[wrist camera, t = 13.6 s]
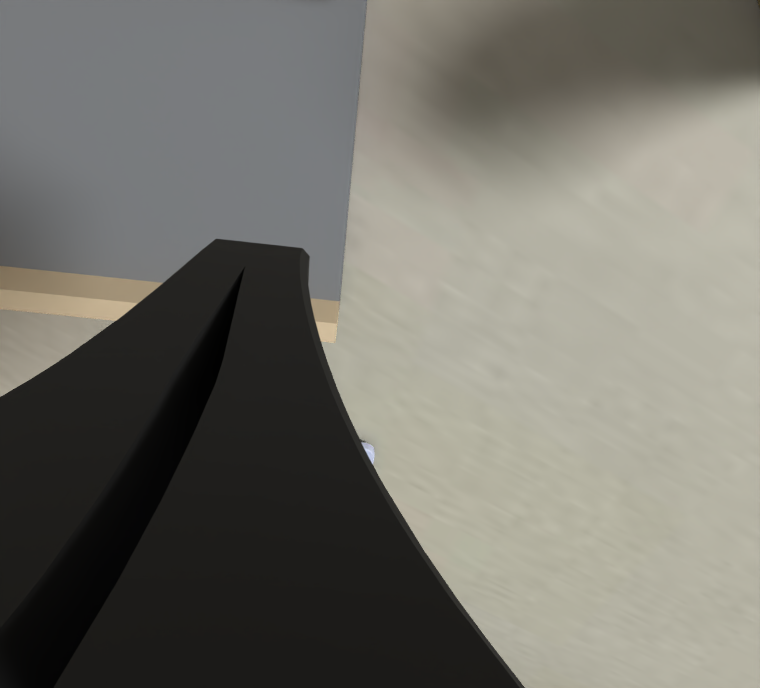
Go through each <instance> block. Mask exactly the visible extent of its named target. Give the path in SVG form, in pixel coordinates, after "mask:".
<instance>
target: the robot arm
mask: <svg viewBox="0 0 760 688" xmlns="http://www.w3.org/2000/svg"><path fill="white" fill-rule="evenodd" d="M309 262H310V256H309V255H308V254H307V253H306V251H305V250H304V249H303V248H298V247H289V246H280V245H270V244H261V243H252V242H243V241H234V240H225V239H215V240H214V241H212V242H211V243H210V244H209V245H207V246H206V247H205V248H204V249H202V250H201V251H200V252H199V253H198V254H196V255H195V256H194V257H193V258H192V259H191V260H189V261H188V262H187V263H186V264H185V265H184V266H182V267H181V268H180V269H179V270H178V271H177V272H175V273H174V274H173V275H172V276H171V277H170V278H168V279H167V280H166V281H165V282H164V283H162V284H161V285H160V286H159V287H158V288H156V289H155V290H154V291H153V292H152V293H150V294H149V295H148V296H147V297H145V298H144V299H143V300H142V301H140V302H139V303H138V304H137V305H135V306H134V307H133V308H132V309H130V310H129V311H128V312H127V313H125V314H124V315H123V316H122V317H120V318H119V319H118V320H116V321H115V322H114V323H112V324H111V325H110V326H108V327H107V328H105V329H104V330H103V331H101V332H100V333H98V334H97V335H96V336H94V337H93V338H91V339H90V340H89V341H87V342H86V343H85V344H83V345H82V346H80V347H79V348H78V349H76V350H75V351H73V352H72V353H71V354H69V355H68V356H66V357H65V358H63V359H62V360H60V361H59V362H57V363H56V364H54V365H53V366H51V367H49V368H48V369H46V370H45V371H43V372H41V373H40V374H38V375H37V376H35V377H34V378H32V379H30V380H29V381H27V382H25V383H24V384H22V385H20V386H18V387H17V388H15V389H13V390H12V391H10V392H8V393H7V394H5V395H3V396H1V397H0V688H525V687H524V686H523V685H522V684H521V682H520V681H519V680H518V678H517V677H516V676H515V674H514V673H513V672H512V671H511V669H510V668H509V667H508V666H507V664H506V663H505V662H504V660H503V659H502V658H501V657H500V655H499V654H498V653H497V651H496V650H495V649H494V648H493V646H492V645H491V644H490V642H489V641H488V640H487V639H486V637H485V636H484V634H483V633H482V632H481V630H480V629H479V628H478V626H477V625H476V624H475V622H474V621H473V620H472V618H471V617H470V616H469V614H468V613H467V612H466V610H465V609H464V608H463V606H462V605H461V603H460V602H459V601H458V599H457V598H456V597H455V595H454V594H453V592H452V591H451V589H450V588H449V586H448V585H447V583H446V582H445V581H444V579H443V578H442V576H441V575H440V573H439V572H438V570H437V569H436V567H435V566H434V565H433V563H432V562H431V560H430V559H429V557H428V556H427V554H426V553H425V552H424V550H423V548H422V547H421V545H420V544H419V542H418V540H417V539H416V537H415V535H414V534H413V532H412V531H411V529H410V527H409V526H408V524H407V522H406V521H405V519H404V517H403V516H402V514H401V513H400V511H399V509H398V508H397V506H396V504H395V503H394V501H393V499H392V498H391V496H390V495H389V493H388V491H387V490H386V488H385V486H384V485H383V483H382V481H381V479H380V478H379V476H378V474H377V472H376V470H375V468H374V466H373V461H374V448H373V446H372V445H370V444H368V443H365V442H361V441H360V439H359V437H358V435H357V433H356V431H355V428H354V426H353V424H352V422H351V420H350V418H349V416H348V413H347V411H346V409H345V406H344V404H343V402H342V399H341V397H340V394H339V392H338V389H337V387H336V384H335V381H334V379H333V376H332V373H331V371H330V368H329V365H328V362H327V359H326V356H325V353H324V350H323V347H322V344H321V340H320V336H319V333H318V329H317V325H316V322H315V318H314V314H313V309H312V305H311V299H310V293H309V286H308V282H309Z"/></svg>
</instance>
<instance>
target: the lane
mask: <svg viewBox="0 0 760 688" xmlns="http://www.w3.org/2000/svg"><path fill="white" fill-rule="evenodd" d="M366 6H367V0H0V309H4V310H14V311H24V312H34V313H44V314H54V315H64V316H74V317H84V318H94V319H104V320H114V321H116V320H118V319H119V318H120V317H122V316H123V315H124V314H125V313H127V312H128V311H129V310H130V309H132V308H133V307H134V306H135V305H137V304H138V303H139V302H140V301H142V300H143V299H144V298H145V297H147V296H148V295H149V294H150V293H152V292H153V291H154V290H155V289H156V288H158V287H159V286H160V285H161V284H162V283H164V282H165V281H166V280H167V279H168V278H170V277H171V276H172V275H173V274H174V273H175V272H177V271H178V270H179V269H180V268H181V267H182V266H184V265H185V264H186V263H187V262H188V261H189V260H191V259H192V258H193V257H194V256H195V255H196V254H198V253H199V252H200V251H201V250H202V249H204V248H205V247H206V246H207V245H209V244H210V243H211V242H212V241H214V240H215V239H225V240H234V241H243V242H252V243H261V244H270V245H280V246H289V247H298V248H303V249H304V250H305V251H306V253H307V254H308V255H309V256H310V262H309V282H308V286H309V293H310V299H311V305H312V309H313V314H314V318H315V322H316V325H317V329H318V333H319V336H320V340H321V341H322V342H332V343H335V341H336V332H337V324H338V315H339V306H340V295H341V284H342V273H343V262H344V250H345V239H346V228H347V217H348V206H349V195H350V184H351V173H352V162H353V151H354V140H355V128H356V117H357V106H358V95H359V84H360V73H361V62H362V51H363V40H364V29H365V17H366Z"/></svg>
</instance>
